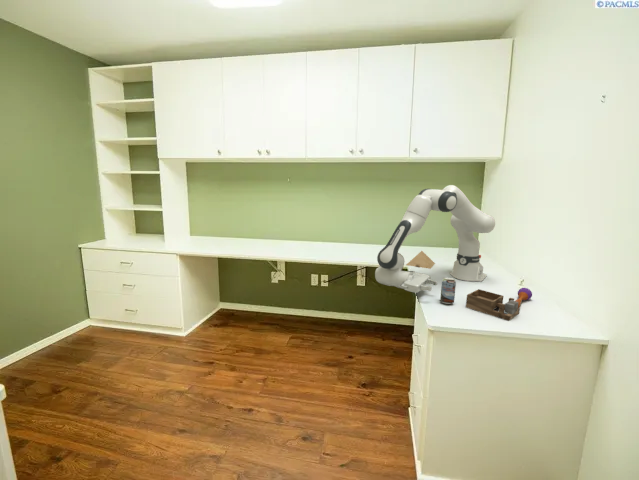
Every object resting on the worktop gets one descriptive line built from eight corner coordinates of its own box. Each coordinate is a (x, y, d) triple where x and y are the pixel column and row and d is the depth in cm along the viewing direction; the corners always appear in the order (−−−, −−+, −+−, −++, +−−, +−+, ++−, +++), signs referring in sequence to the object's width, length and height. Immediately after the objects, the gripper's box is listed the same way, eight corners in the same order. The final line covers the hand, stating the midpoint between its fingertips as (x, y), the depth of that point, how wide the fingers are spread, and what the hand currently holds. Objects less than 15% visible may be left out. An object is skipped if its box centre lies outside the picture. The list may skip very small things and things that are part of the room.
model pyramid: (405, 265, 213) (406, 251, 212) (411, 260, 228) (412, 246, 226) (430, 269, 205) (431, 254, 203) (435, 263, 220) (436, 249, 218)
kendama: (507, 298, 145) (518, 285, 159) (508, 311, 146) (520, 297, 160) (522, 300, 141) (532, 286, 155) (523, 312, 142) (533, 298, 155)
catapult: (477, 301, 152) (478, 289, 151) (519, 313, 138) (521, 300, 137) (465, 307, 144) (467, 294, 143) (508, 320, 131) (510, 307, 130)
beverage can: (441, 305, 146) (444, 280, 143) (438, 299, 153) (440, 275, 151) (455, 306, 145) (458, 281, 142) (451, 300, 152) (454, 276, 150)
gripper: (398, 279, 150) (428, 285, 142) (412, 269, 166) (440, 274, 159) (397, 292, 151) (427, 298, 143) (412, 281, 168) (439, 286, 160)
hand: (434, 286), depth 151 cm, fingers open, 8 cm apart
